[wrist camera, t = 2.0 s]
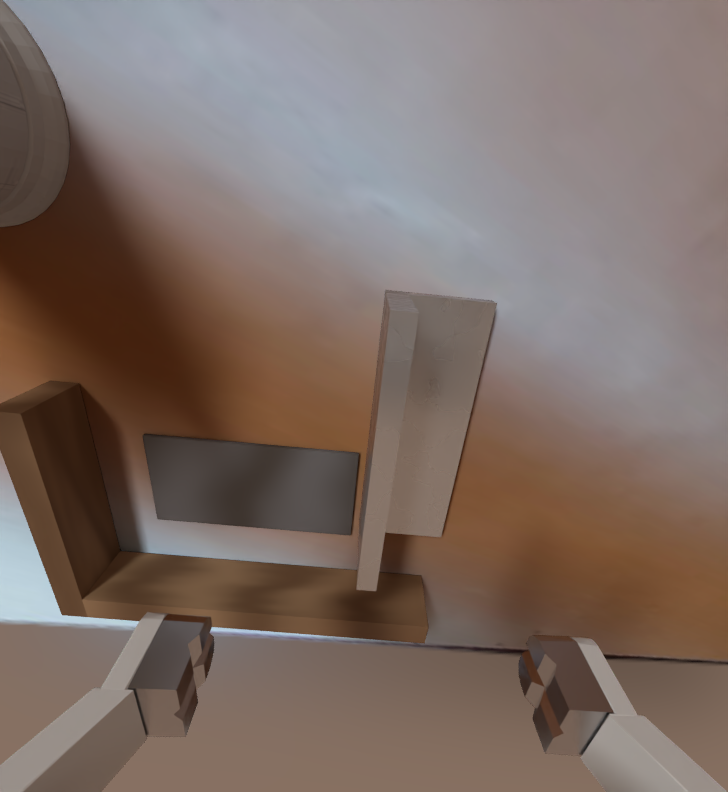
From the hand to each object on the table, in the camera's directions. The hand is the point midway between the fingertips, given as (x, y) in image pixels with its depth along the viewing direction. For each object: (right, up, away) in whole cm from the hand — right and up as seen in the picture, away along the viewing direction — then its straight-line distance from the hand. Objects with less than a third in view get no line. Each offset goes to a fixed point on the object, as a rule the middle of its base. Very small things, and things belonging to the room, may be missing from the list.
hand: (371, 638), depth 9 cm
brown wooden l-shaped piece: (-6, 0, +13) cm, 14 cm away
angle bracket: (+3, +5, +11) cm, 12 cm away
